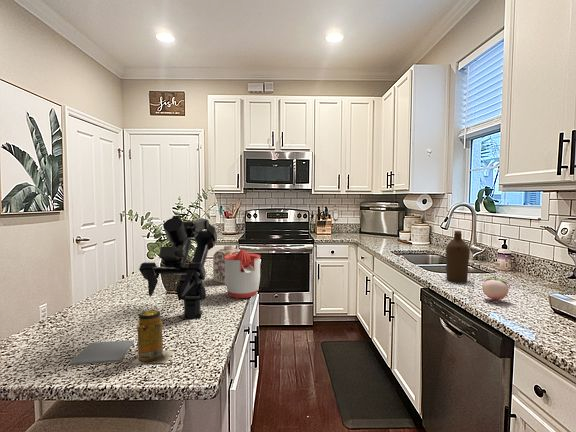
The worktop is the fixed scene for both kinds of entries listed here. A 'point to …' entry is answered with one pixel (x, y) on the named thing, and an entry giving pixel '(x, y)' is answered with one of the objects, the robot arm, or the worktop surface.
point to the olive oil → (457, 259)
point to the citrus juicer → (242, 274)
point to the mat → (103, 352)
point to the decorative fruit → (495, 288)
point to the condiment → (151, 339)
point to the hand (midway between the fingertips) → (165, 295)
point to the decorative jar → (222, 262)
